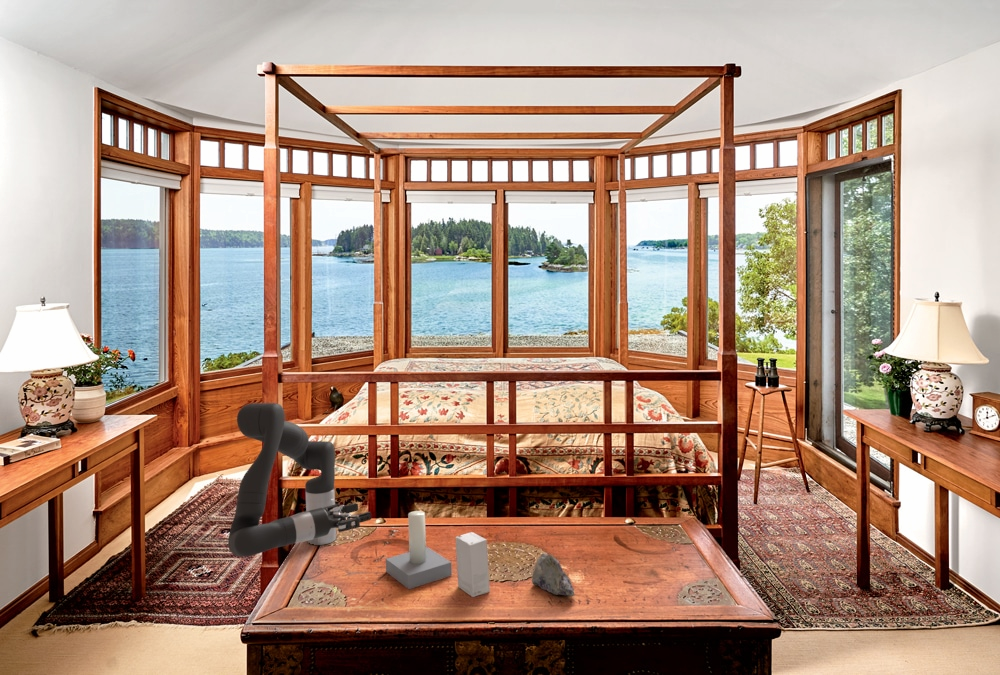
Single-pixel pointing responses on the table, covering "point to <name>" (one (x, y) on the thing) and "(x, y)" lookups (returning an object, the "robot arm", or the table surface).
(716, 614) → the table surface
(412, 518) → the white cylinder
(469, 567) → the skincare box
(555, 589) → the mineral rock
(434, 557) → the slate plinth
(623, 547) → the table surface
